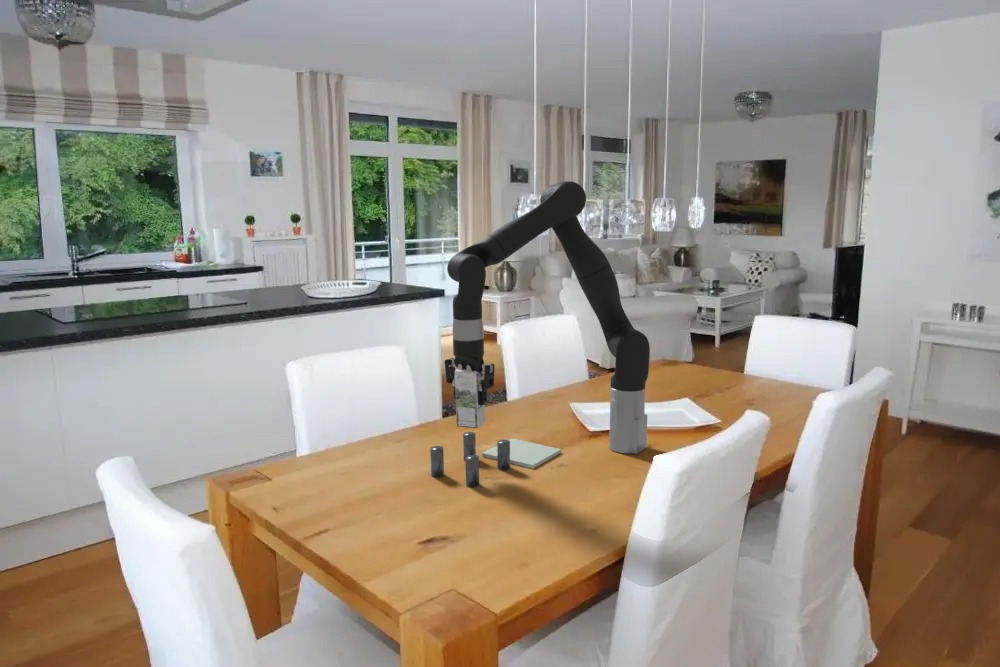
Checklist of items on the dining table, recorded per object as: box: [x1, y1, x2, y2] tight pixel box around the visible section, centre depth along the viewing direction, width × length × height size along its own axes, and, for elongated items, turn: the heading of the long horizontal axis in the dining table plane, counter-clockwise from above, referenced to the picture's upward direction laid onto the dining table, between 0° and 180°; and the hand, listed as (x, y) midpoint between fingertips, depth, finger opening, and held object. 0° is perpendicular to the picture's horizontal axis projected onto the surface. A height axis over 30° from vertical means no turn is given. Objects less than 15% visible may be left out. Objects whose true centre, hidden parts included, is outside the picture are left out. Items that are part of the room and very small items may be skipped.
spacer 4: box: [496, 439, 511, 471], centre depth 178 cm, size 3×3×7 cm
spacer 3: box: [464, 454, 480, 488], centre depth 168 cm, size 3×3×7 cm
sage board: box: [481, 438, 562, 470], centre depth 188 cm, size 16×14×1 cm
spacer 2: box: [462, 431, 477, 461], centre depth 184 cm, size 3×3×7 cm
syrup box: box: [455, 368, 486, 429], centre depth 173 cm, size 6×6×14 cm
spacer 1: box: [429, 445, 445, 478], centre depth 174 cm, size 3×3×7 cm
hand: (470, 402), depth 173 cm, fingers closed on syrup box, 6 cm apart
